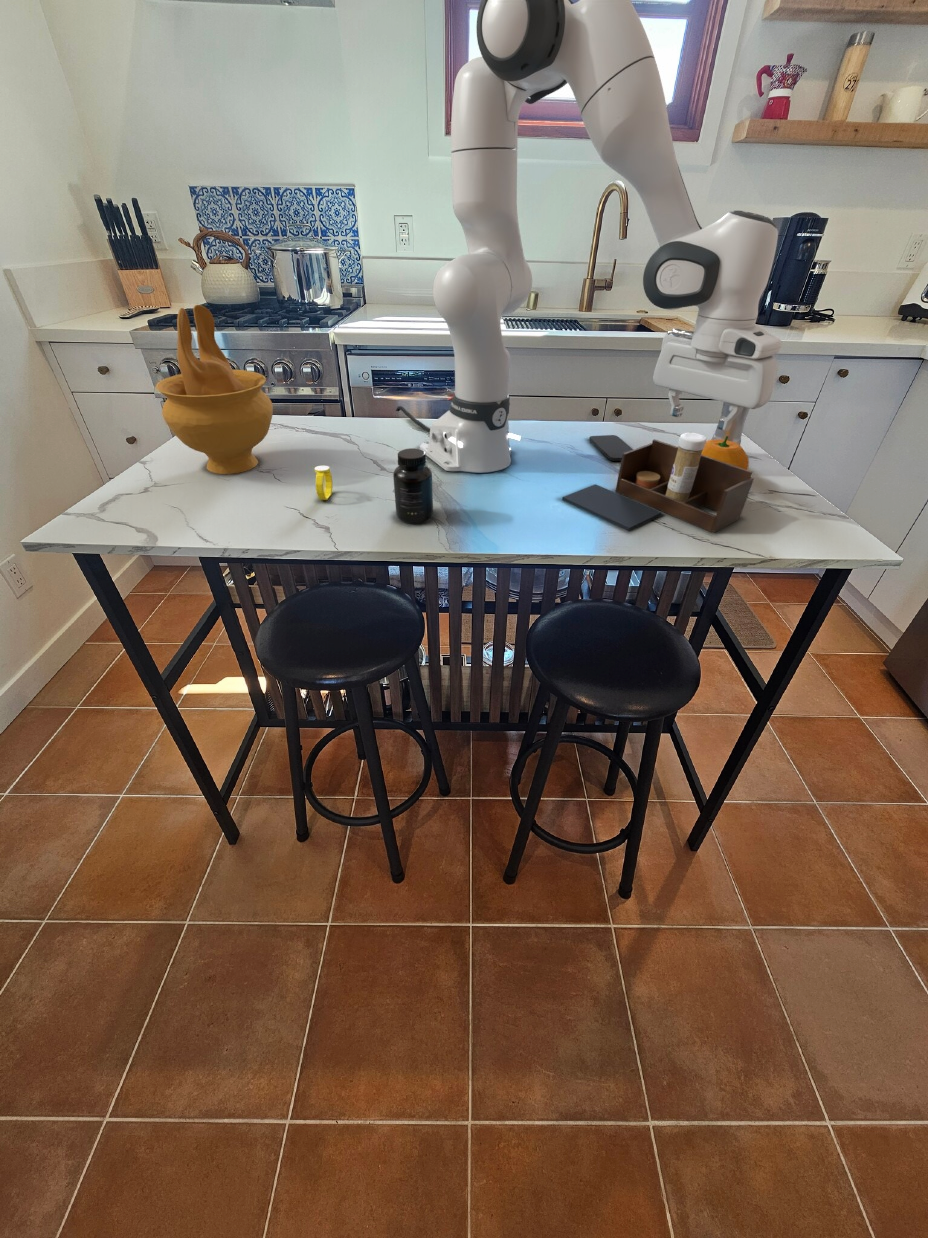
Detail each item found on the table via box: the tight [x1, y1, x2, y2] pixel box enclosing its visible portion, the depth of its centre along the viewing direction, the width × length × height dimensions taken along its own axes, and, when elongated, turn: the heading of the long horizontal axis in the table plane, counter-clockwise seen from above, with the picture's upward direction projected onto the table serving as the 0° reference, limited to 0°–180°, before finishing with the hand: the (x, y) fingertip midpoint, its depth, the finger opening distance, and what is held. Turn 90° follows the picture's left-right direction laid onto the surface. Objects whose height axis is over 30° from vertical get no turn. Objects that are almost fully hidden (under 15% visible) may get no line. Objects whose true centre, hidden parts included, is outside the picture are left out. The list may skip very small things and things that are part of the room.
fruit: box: [701, 436, 750, 470], centre depth 112 cm, size 12×12×10 cm
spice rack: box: [614, 439, 755, 534], centre depth 104 cm, size 22×9×9 cm, turn 40°
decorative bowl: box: [155, 304, 274, 475], centre depth 110 cm, size 21×21×30 cm
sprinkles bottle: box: [666, 432, 707, 502], centre depth 103 cm, size 5×5×14 cm
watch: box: [314, 465, 333, 501], centre depth 105 cm, size 6×3×6 cm, turn 175°
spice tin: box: [635, 471, 660, 489], centre depth 110 cm, size 5×5×4 cm
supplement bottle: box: [392, 447, 434, 525], centre depth 97 cm, size 7×7×12 cm
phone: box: [588, 434, 634, 462], centre depth 129 cm, size 7×1×15 cm
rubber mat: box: [561, 483, 663, 532], centre depth 105 cm, size 16×10×1 cm, turn 40°
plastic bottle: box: [710, 402, 751, 446], centre depth 121 cm, size 6×7×20 cm
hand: (698, 422), depth 97 cm, fingers open, 8 cm apart
